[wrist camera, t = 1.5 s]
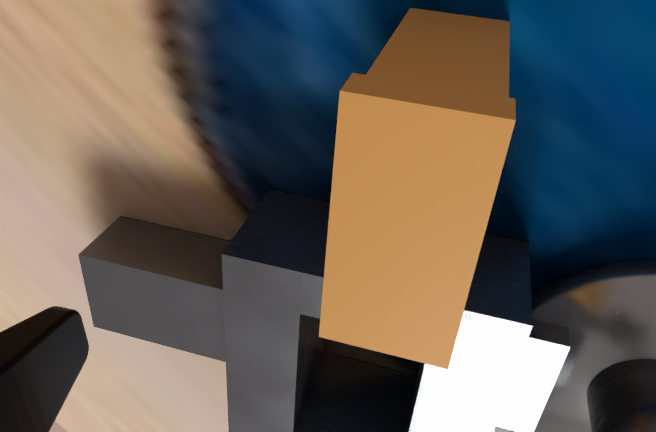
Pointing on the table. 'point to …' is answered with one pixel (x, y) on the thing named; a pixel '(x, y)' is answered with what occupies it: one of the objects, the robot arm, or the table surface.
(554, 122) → the table surface
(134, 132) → the table surface
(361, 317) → the tan stepped block
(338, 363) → the ring lock bracket
